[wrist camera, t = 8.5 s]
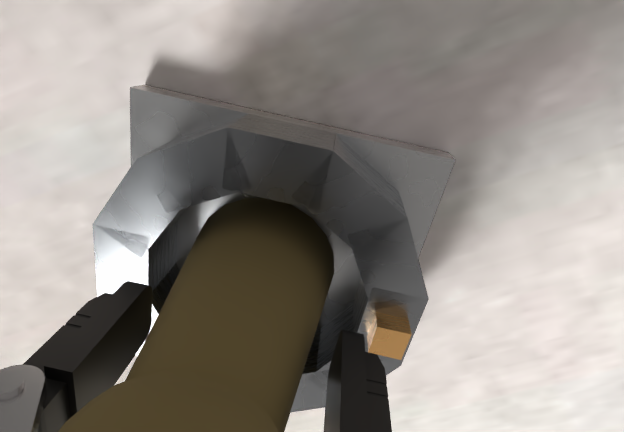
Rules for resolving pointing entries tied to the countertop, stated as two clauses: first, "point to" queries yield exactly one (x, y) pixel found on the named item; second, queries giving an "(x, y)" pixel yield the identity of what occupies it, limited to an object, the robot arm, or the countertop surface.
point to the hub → (284, 188)
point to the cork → (227, 329)
